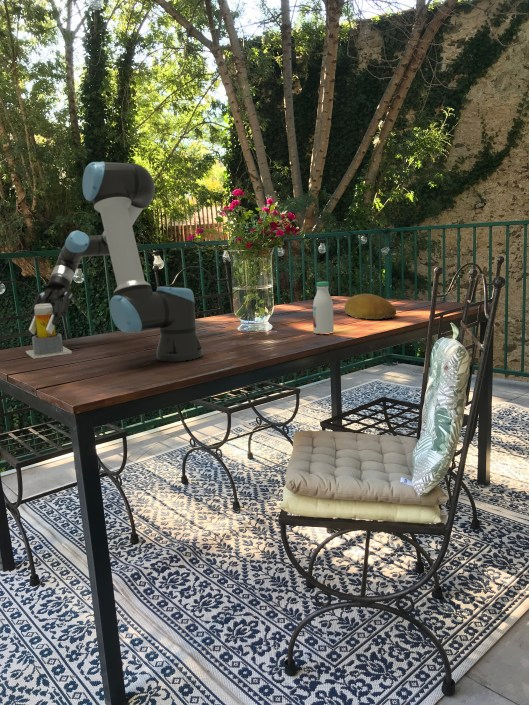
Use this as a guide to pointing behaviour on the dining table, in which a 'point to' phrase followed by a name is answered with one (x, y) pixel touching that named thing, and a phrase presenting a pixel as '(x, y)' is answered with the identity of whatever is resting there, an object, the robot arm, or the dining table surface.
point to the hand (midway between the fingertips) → (40, 331)
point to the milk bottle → (322, 309)
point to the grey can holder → (47, 347)
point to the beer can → (43, 319)
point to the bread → (369, 307)
